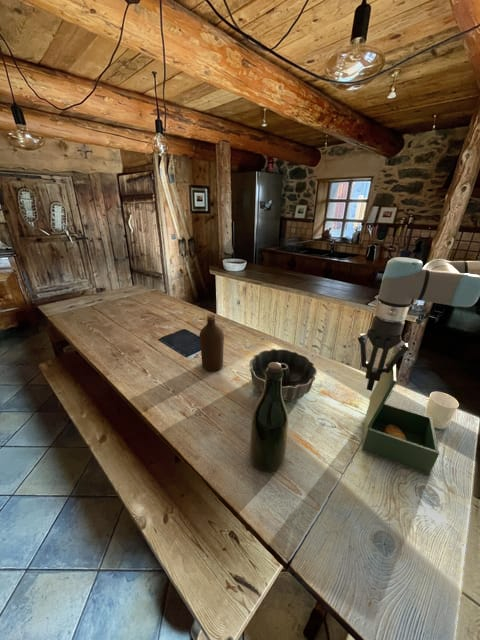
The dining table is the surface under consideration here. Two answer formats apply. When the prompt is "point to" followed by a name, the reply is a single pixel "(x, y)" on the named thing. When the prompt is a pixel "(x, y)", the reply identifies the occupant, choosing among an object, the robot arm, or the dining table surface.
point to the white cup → (441, 409)
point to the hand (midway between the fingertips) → (369, 387)
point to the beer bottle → (269, 423)
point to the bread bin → (410, 453)
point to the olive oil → (211, 345)
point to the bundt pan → (284, 372)
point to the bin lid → (381, 394)
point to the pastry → (394, 431)
